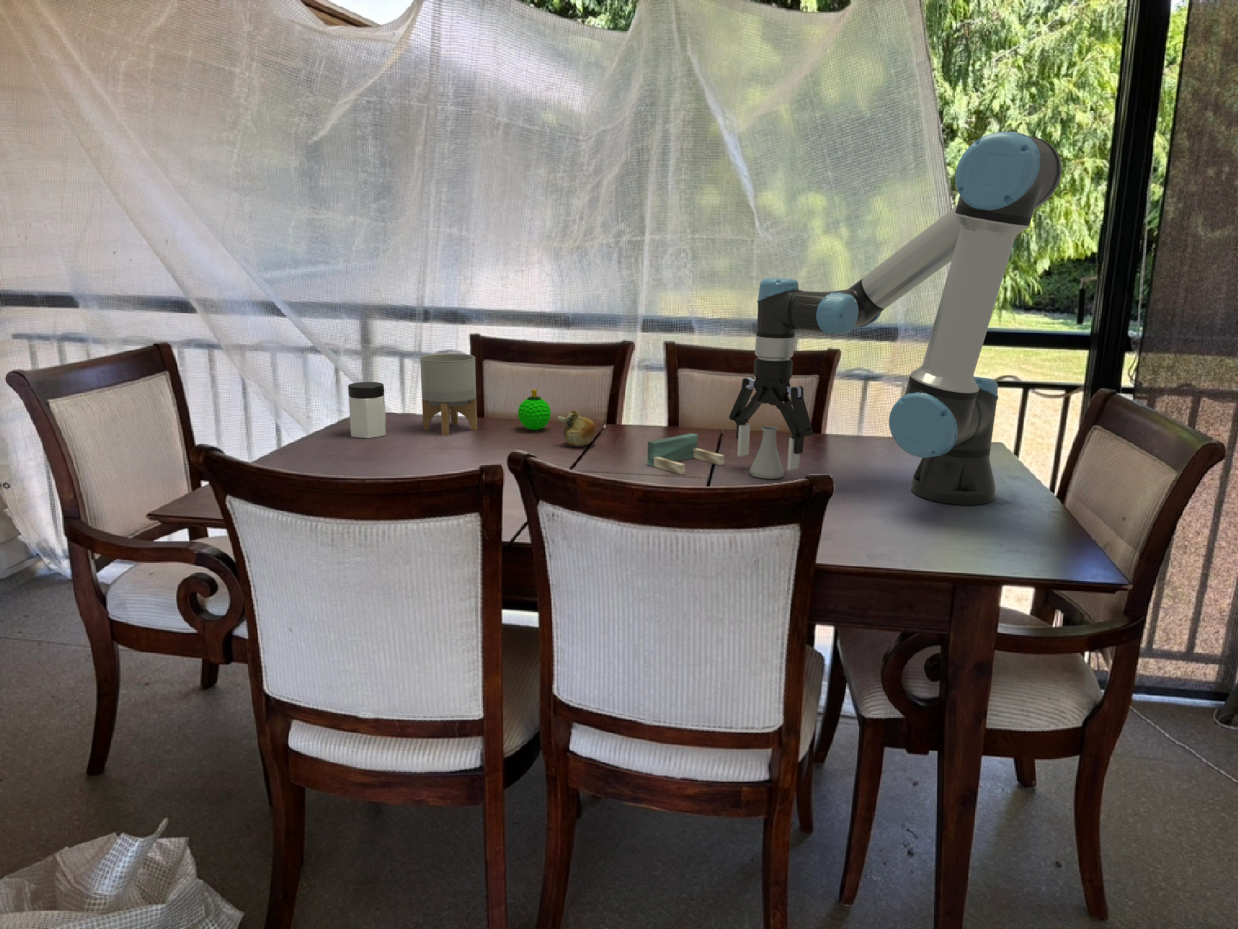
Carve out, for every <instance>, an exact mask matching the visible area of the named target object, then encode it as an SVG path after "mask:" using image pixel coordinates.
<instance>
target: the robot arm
mask: <svg viewBox="0 0 1238 929" xmlns="http://www.w3.org/2000/svg"><path fill="white" fill-rule="evenodd" d="M955 171H956V172H955V177H954V179H955V186H956V189H957V192H958V194H959V196H958V200H957V205H955V206H954V207H952V209H950V210H949V211H947V212H945V213H944V215H942V216H941V217H940V218H939V219H937V220H935V221H934V222H933V223H932V224H930V225H929V226H928V227H926V229H924V230H923V231H921V232H920V233H919V234H917V235H916V236H915V237H914V238H912V239H911V240H910V241H908V242H907V243H906V244H905V245H903V246H902V247H901V248H899V249H897V251H895V252H894V253H893V254H891V255H890V256H888V258H887V259H885V260H884V261H882V262H881V263H880V264H878V265H877V266H876V267H875V268H873V269H872V270H871V271H869V272H868V273H867V274H865V275H864V276H863V277H862V278H861V279H859V280H858V281H857V282H856V283H854V284H853V285H851V286H850V287H849V288H846V289H841V290H831V291H812V290H811V291H808V290H802V289H800V287H799V282H798V280H797V279H796V278H794V279H793V278H788V277H787V278H786V277H768V278H764V279H762V280H761V281H760V282H759V289H758V290H759V291H758V297H757V318H756V319H757V322H756V325H757V326H756V333H755V334H756V335H755V347H754V355H755V356H756V357H755V359H754V366H753V375H754V376H755V377H753V376H750V377H744V378H743V379H742V381H741V389H740V391H739V392H738V393H739V394H738V395H737V398H736V400H735V402H734V404H733V407H732V409H731V411H730V413H729V416H728V417H729V420H731V421H733V422H735V425H736V432H735V433H736V437H735V438H736V440H737V453H736V454H737V457H745V456H748V455H749V454H750V452H749V451H750V435H751V424H750V419H751V418H752V417H753V415H755V413H756V412H757V411H758V409H759V408H760V407H761V405H762V404H765V405H766V404H768V405H770V406H776V409H778V410H779V411H780V413H781V415H782V417H783V419H784V422H785V423H786V425H787V427H788V429H789V431H790V433H791V435H792V436H791V437H789V439H788V453H787V468H786V469H787V470H788V471H792V470H797V469H799V467H800V457H801V456H800V455H801V454H803V452H804V439H805V437H810V436H812V435H813V434H814V430H813V426H812V423H811V419H810V416H809V413H808V409H807V405H806V403H805V399H804V387H803V386H802V385H798V386H791V384H790V383H791V382H790V381H791V378H792V377H793V366H794V361H793V359H791V358H792V357H793V356H794V350H795V349H794V346H795V337H796V335H795V334H796V331H806V332H807V331H808V332H815V333H822V334H827V335H847V334H849V333H850V332H851V331H852V330H853V329H854V328H864V327H867V326H869V325H871V324H873V323H875V322H876V321H877V320H878V319H879V318H880V316H881V315H882V312H883V311H884V310H886V309H887V308H888V307H890V306H891V305H893V304H894V303H895V302H896V301H898V300H899V299H900V298H902V297H903V296H905V295H906V294H908V293H909V292H910V291H912V290H913V289H914V288H916V287H917V286H918V285H920V284H922V283H923V282H924V281H926V280H927V279H928V278H930V277H931V276H932V275H934V274H935V273H937V272H938V271H939V270H941V269H942V268H943V267H945V266H947V265H948V264H949V263H950V265H949V268H948V272H947V276H946V278H945V279H946V280H945V282H944V286H943V291H942V294H941V297H940V300H939V304H938V307H937V312H936V315H935V318H934V322H933V326H932V329H931V333H930V337H929V340H928V342H927V347H926V351H925V353H924V354H925V355H924V358H923V362H922V364H921V365H920V366H919V367H917V368H916V369H914V370H912V371H911V372H910V375H909V377H908V382H907V386H906V389H905V392H904V395H903V396H901V397H900V398H899V399H897V401H896V402H895V403H894V404H893V406H892V407H891V410H890V413H889V417H888V426H889V431H890V435H891V436H892V438H893V439H894V441H895V443H896V444H897V446H898V447H899V448H900V449H901V450H902V451H904V452H905V453H907V454H909V455H911V456H913V457H917V458H921V459H920V461H919V463H918V465H917V467H916V470H915V472H914V474H913V476H912V479H911V487H910V488H911V489H910V490H911V493H913V494H914V495H916V496H918V497H921V498H922V499H926V500H929V501H933V502H938V503H943V504H949V505H959V506H960V505H962V506H963V505H964V506H975V505H978V506H979V505H984V504H989V503H991V502H993V501H994V500H995V496H996V483H995V482H996V481H995V478H994V477H995V476H994V473H993V469H992V466H991V460H990V455H991V448H992V441H993V432H994V426H995V419H996V418H995V417H996V410H997V404H998V400H999V395H998V391H999V384H998V382H997V381H996V380H995V379H993V378H988V377H983V376H982V377H980V376H975V375H974V374H975V372H976V368H977V364H978V361H979V358H980V355H981V352H982V348H983V345H984V342H985V338H986V336H987V332H988V328H989V327H990V326H989V325H990V322H991V319H992V316H993V315H992V314H993V311H994V308H995V306H996V301H997V298H998V295H999V292H1000V288H1001V286H1002V283H1003V279H1004V276H1005V273H1006V270H1007V265H1008V263H1009V260H1010V259H1009V258H1010V256H1011V253H1012V249H1013V246H1014V242H1015V239H1016V237H1017V236H1018V235H1019V234H1020V233H1022V232H1024V231H1026V230H1027V229H1029V227H1030V224H1031V221H1032V218H1033V215H1034V212H1035V210H1036V209H1037V208H1038V207H1041V205H1043V204H1045V203H1046V202H1047V201H1048V200H1049V199H1050V198H1051V197H1052V196H1053V194H1054V193H1055V192H1056V190H1057V189H1058V187H1059V185H1060V182H1061V179H1062V173H1063V166H1062V161H1061V157H1060V155H1059V153H1058V151H1057V149H1056V148H1055V147H1054V146H1053V145H1052V144H1051V143H1049V142H1048V141H1046V140H1044V139H1042V138H1038V137H1035V136H1030V135H1027V134H1024V133H1020V132H1016V131H997V132H991V133H989V134H986V135H984V136H982V137H980V138H979V139H977V140H976V141H974V142H973V143H972V144H971V145H970V146H969V147H968V148H967V149H966V150H965V151H964V152H963V154H962V155H961V157H960V159H959V161H958V164H957V166H956V169H955ZM754 390H755V393H754V394H753V391H754ZM752 394H753V395H752ZM749 400H750V401H749Z"/></svg>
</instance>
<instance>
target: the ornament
mask: <svg viewBox="0 0 1238 929" xmlns="http://www.w3.org/2000/svg"><path fill="white" fill-rule="evenodd" d="M530 390H531V396H528V397H527V398H526V399H524V400H523V401H522V402H521V403H520V404H519V406H518V411H517V414H518V415H517V417H518V418H519V422H520V423H521V425H522V426H524V427H525V429H527V430H531V431H540V430H542V429H544V428H545V427H546V426H547V425H548V423H549V422H550V421H551V417H552V414H551V413H552V411H551V407H550V405H549V403H548V402H546V401H545V399H542V397H541V396H538V394H537V392H538V389H530Z"/></svg>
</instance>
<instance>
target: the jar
mask: <svg viewBox="0 0 1238 929" xmlns="http://www.w3.org/2000/svg"><path fill="white" fill-rule="evenodd" d="M347 392H348V394H347V395H348V409H349V410H348V411H349V424H350V437H351V438H361V439H369V440H370V439H374V438H380V437H385V436H386V435H387V434H386V433H387V425H386V422H387V420H386V419H387V417H386V414H387V413H386V405H385V404H386V403H385V385H384V383H382V382H378V381H361V382H359V381H358V382H352V383H349V384H348V385H347Z"/></svg>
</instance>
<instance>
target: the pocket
mask: <svg viewBox="0 0 1238 929" xmlns="http://www.w3.org/2000/svg"><path fill="white" fill-rule="evenodd" d="M698 442H699V434H698V433H697V434H696V433H692V432H690V433H686V434H681V435H676V436H670V437H665V438H660V439H656V440H649V441H647V466H648V465H649V466H651V467H653V468H658V469H660V470H664V471H667V472H671V473H673V474H677V475H685V474H686V473H685V472H686V464H685V463H681V462H680V461H685V460H689V459H696V460H699V461H703V462H706V463H711V464H714V465H717V466H724V465H725V455H724V454H720V453H717V452H713V451H709V450H706V449H702V448H698V444H699V443H698Z"/></svg>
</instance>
